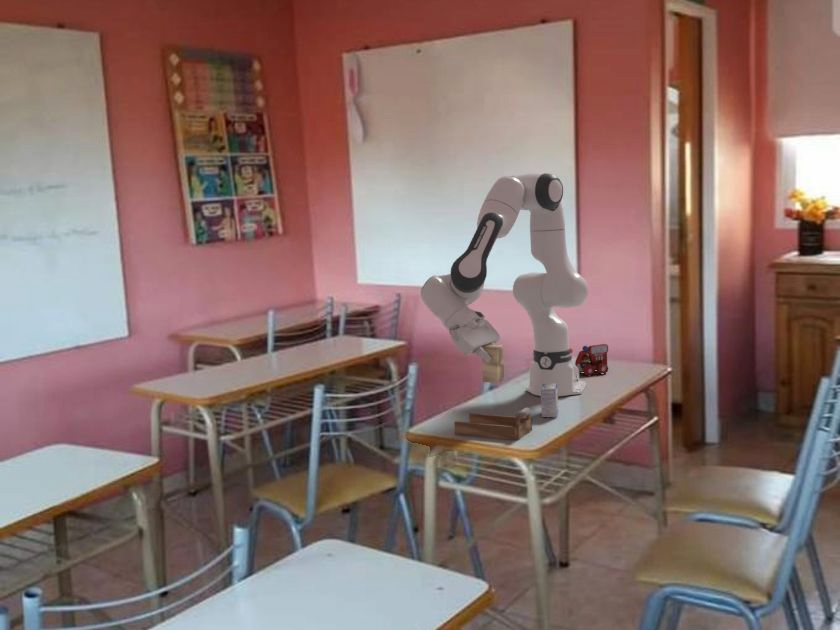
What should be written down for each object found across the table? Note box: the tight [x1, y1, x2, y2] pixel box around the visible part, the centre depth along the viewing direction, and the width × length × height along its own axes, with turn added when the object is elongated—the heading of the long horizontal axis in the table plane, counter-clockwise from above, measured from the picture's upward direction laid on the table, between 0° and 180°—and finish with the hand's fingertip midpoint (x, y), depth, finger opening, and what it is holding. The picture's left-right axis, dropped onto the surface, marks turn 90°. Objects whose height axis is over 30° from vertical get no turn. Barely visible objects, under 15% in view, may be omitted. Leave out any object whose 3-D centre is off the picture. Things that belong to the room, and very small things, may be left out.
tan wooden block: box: [481, 344, 505, 384], centre depth 259 cm, size 4×4×10 cm
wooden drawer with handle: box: [453, 407, 533, 441], centre depth 254 cm, size 10×19×7 cm, turn 62°
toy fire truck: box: [574, 343, 609, 376], centre depth 323 cm, size 7×12×10 cm, turn 106°
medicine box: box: [540, 383, 559, 419], centre depth 270 cm, size 8×4×9 cm, turn 168°
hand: (495, 358), depth 259 cm, fingers closed on tan wooden block, 4 cm apart
